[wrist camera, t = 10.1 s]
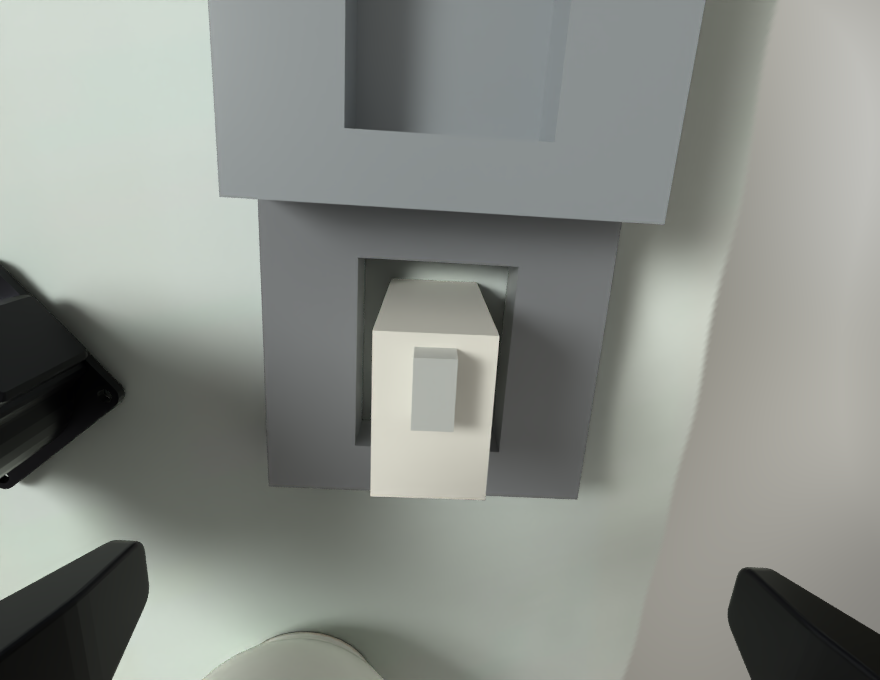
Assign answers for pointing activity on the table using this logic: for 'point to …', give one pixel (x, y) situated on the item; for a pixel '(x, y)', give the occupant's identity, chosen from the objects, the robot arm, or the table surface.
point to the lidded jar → (297, 660)
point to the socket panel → (337, 335)
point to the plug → (432, 391)
